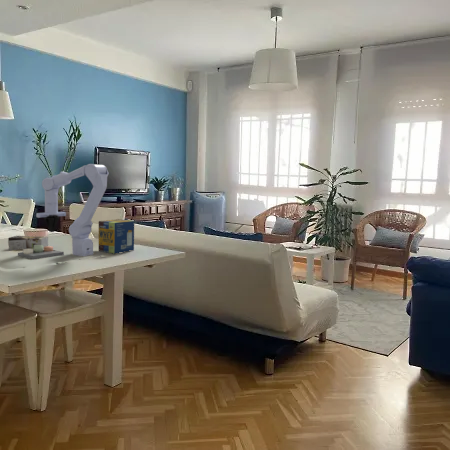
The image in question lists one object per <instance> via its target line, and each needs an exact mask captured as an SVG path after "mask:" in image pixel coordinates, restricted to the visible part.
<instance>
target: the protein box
mask: <svg viewBox="0 0 450 450" xmlns="http://www.w3.org/2000/svg"><path fill="white" fill-rule="evenodd" d="M129 250H133V251H135V221H134V220H130V219H121V218H117V219H107V220H99V221H98V252H100V253H105V254H110V253H113V254H112V255H116V254H115V253H118V254H120V253H119V252H123V253H125V252H124V251H128V252H130V251H129Z"/></svg>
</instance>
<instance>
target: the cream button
mask: <svg viewBox="0 0 450 450" xmlns="http://www.w3.org/2000/svg"><path fill="white" fill-rule="evenodd" d="M33 251H34V249H22V252H23V254H33Z"/></svg>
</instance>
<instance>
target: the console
mask: <svg viewBox="0 0 450 450" xmlns="http://www.w3.org/2000/svg"><path fill="white" fill-rule="evenodd" d="M64 255H65V252H64V251H62V250H61V251H60V250H55V249H53V251H48V252H46V251H44V249H43V252H41V253H35V252H34V250H33V254H23V251H19V252H17V256H18V257H20V258H21V257H22V258H26V259H29V260H37V259H44V258H53V257H58V256H64Z"/></svg>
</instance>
